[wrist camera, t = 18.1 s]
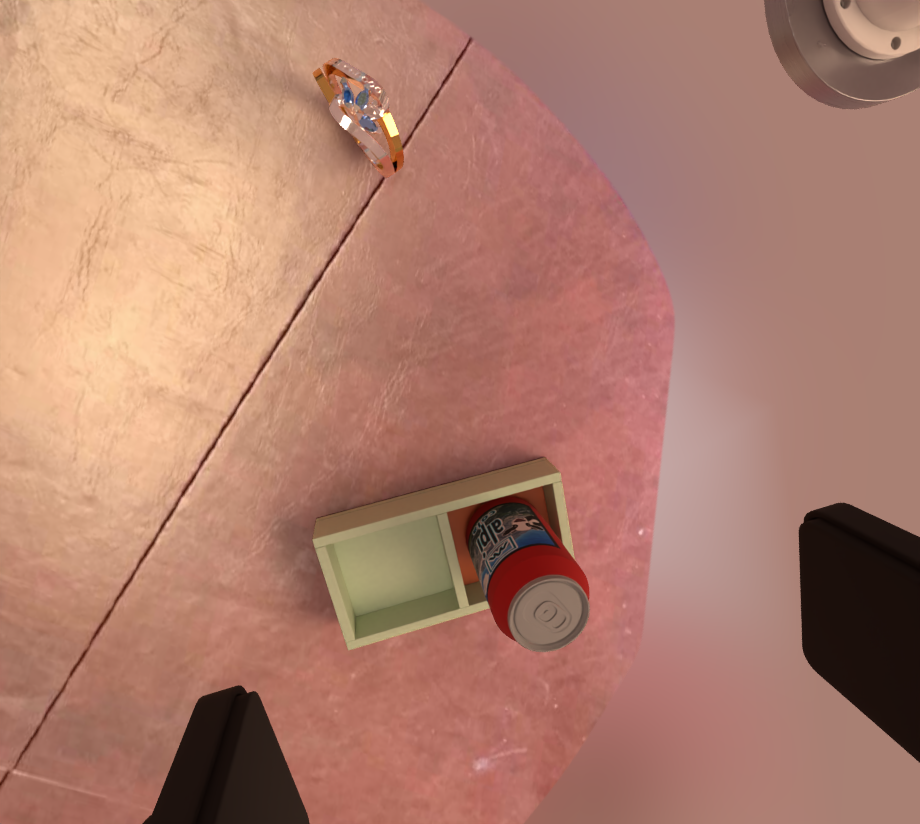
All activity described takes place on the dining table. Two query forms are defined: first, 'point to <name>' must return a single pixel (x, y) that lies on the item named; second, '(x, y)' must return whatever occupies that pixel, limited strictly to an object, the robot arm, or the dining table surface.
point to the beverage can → (527, 575)
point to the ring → (362, 113)
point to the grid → (422, 551)
